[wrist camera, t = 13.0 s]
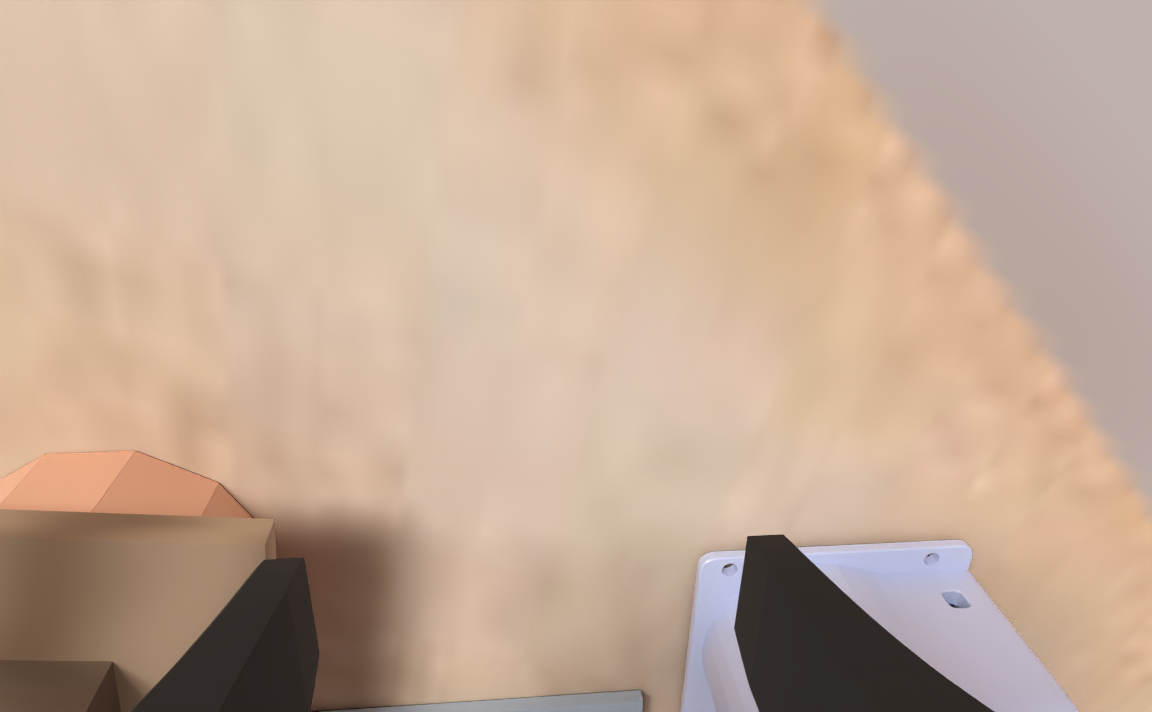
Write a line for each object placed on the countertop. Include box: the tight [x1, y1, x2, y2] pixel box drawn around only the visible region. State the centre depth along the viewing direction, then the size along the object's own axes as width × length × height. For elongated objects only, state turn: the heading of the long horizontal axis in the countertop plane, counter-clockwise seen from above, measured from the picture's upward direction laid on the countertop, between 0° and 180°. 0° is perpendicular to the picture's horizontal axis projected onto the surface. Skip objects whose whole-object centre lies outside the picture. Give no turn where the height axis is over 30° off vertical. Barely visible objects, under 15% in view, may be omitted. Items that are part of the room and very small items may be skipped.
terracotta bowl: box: [0, 451, 252, 518], centre depth 23 cm, size 9×9×4 cm
